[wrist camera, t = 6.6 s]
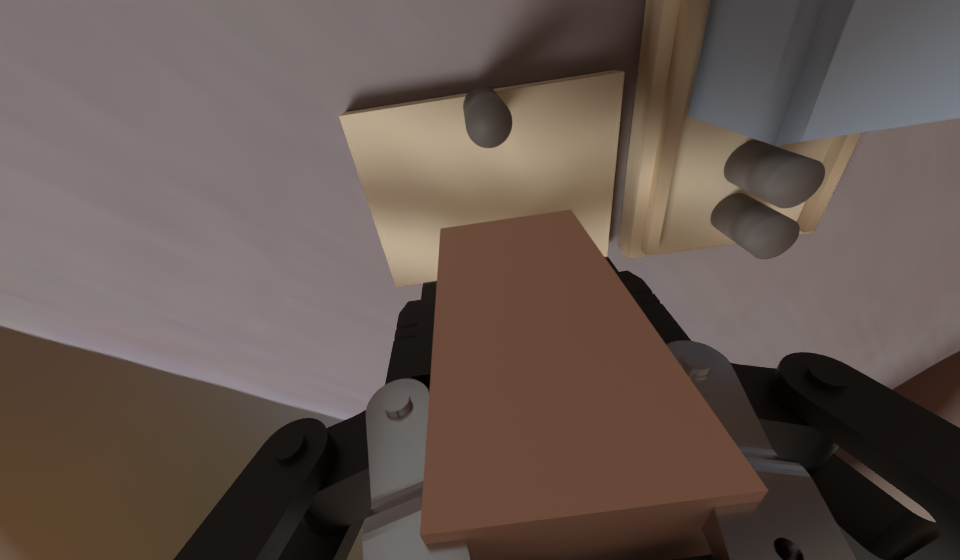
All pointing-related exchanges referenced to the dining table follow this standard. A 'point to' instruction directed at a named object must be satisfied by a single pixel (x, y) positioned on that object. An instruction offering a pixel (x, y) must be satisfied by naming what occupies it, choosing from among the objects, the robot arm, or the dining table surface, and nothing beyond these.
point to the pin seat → (486, 162)
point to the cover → (827, 67)
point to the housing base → (711, 159)
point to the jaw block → (563, 408)
